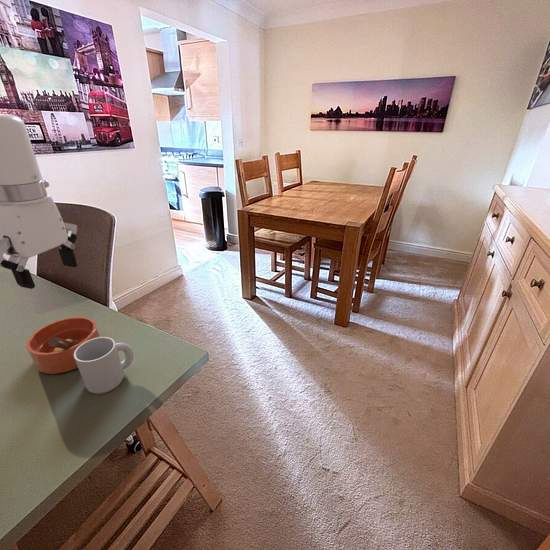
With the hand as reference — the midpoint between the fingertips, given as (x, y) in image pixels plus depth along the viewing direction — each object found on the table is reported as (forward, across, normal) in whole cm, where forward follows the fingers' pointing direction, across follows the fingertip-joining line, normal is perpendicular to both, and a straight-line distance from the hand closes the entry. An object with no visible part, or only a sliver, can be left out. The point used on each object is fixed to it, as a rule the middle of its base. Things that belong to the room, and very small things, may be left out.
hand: (50, 275), depth 62 cm
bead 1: (+19, +3, -2) cm, 19 cm away
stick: (+19, 0, 0) cm, 19 cm away
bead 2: (+19, 0, -2) cm, 19 cm away
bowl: (+20, +1, -1) cm, 20 cm away
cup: (+20, +4, +14) cm, 25 cm away
